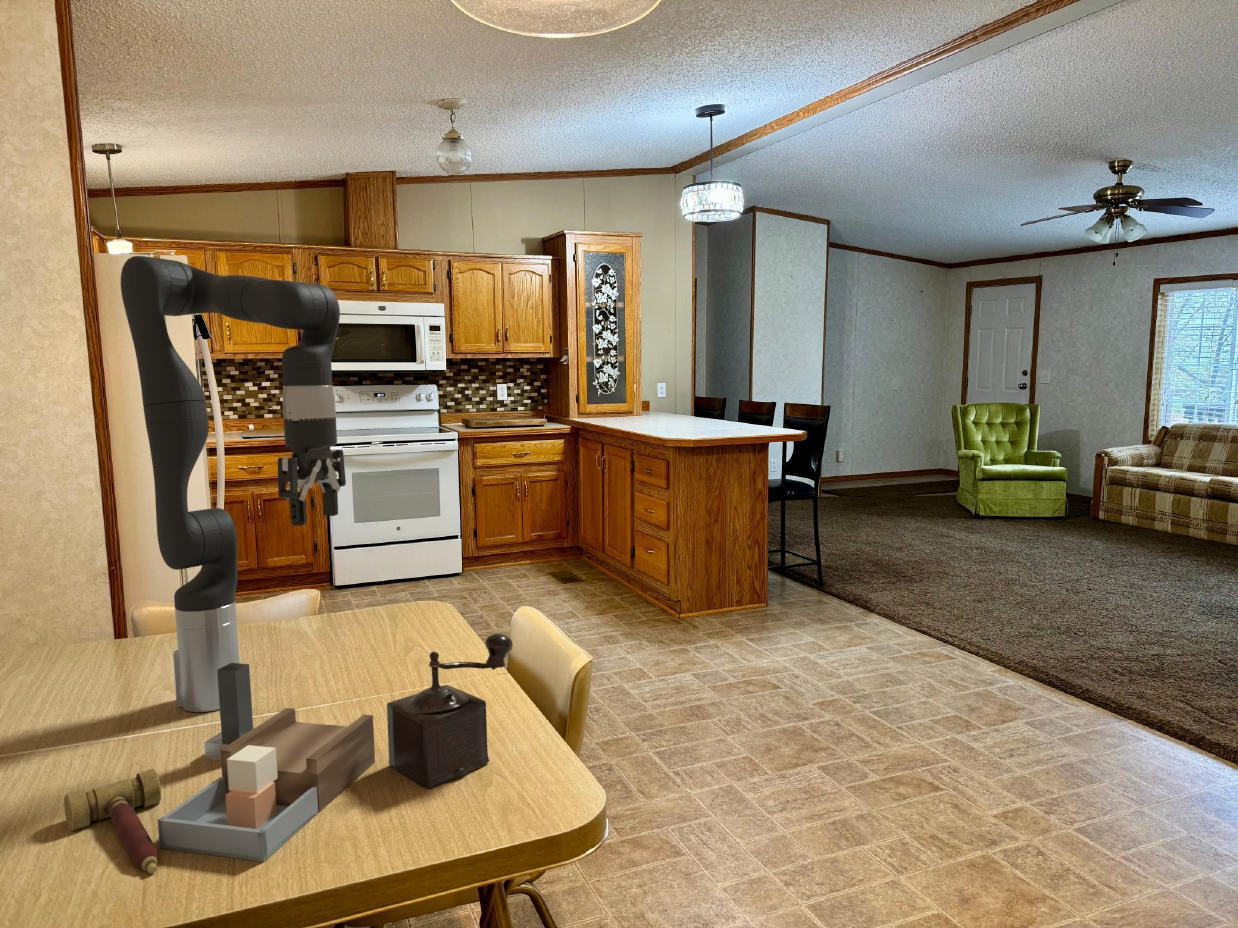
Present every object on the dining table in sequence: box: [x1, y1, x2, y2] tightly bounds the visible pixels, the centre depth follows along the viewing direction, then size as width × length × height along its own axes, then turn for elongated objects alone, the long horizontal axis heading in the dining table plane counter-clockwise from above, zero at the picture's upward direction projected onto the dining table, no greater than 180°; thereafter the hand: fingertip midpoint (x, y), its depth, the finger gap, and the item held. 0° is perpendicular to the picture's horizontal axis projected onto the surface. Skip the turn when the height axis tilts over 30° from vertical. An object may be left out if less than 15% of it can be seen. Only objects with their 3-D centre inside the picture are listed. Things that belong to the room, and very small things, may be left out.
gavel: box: [63, 768, 162, 874], centre depth 100 cm, size 21×5×10 cm
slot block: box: [220, 707, 376, 813], centre depth 114 cm, size 14×14×7 cm
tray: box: [157, 776, 319, 863], centre depth 102 cm, size 14×11×4 cm
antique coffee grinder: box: [386, 633, 514, 790], centre depth 119 cm, size 16×11×18 cm
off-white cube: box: [227, 745, 278, 793], centre depth 104 cm, size 4×4×4 cm
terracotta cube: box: [226, 782, 277, 829], centre depth 103 cm, size 4×4×4 cm
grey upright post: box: [203, 662, 254, 761], centre depth 122 cm, size 9×4×14 cm, turn 77°
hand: (315, 520), depth 129 cm, fingers open, 8 cm apart
